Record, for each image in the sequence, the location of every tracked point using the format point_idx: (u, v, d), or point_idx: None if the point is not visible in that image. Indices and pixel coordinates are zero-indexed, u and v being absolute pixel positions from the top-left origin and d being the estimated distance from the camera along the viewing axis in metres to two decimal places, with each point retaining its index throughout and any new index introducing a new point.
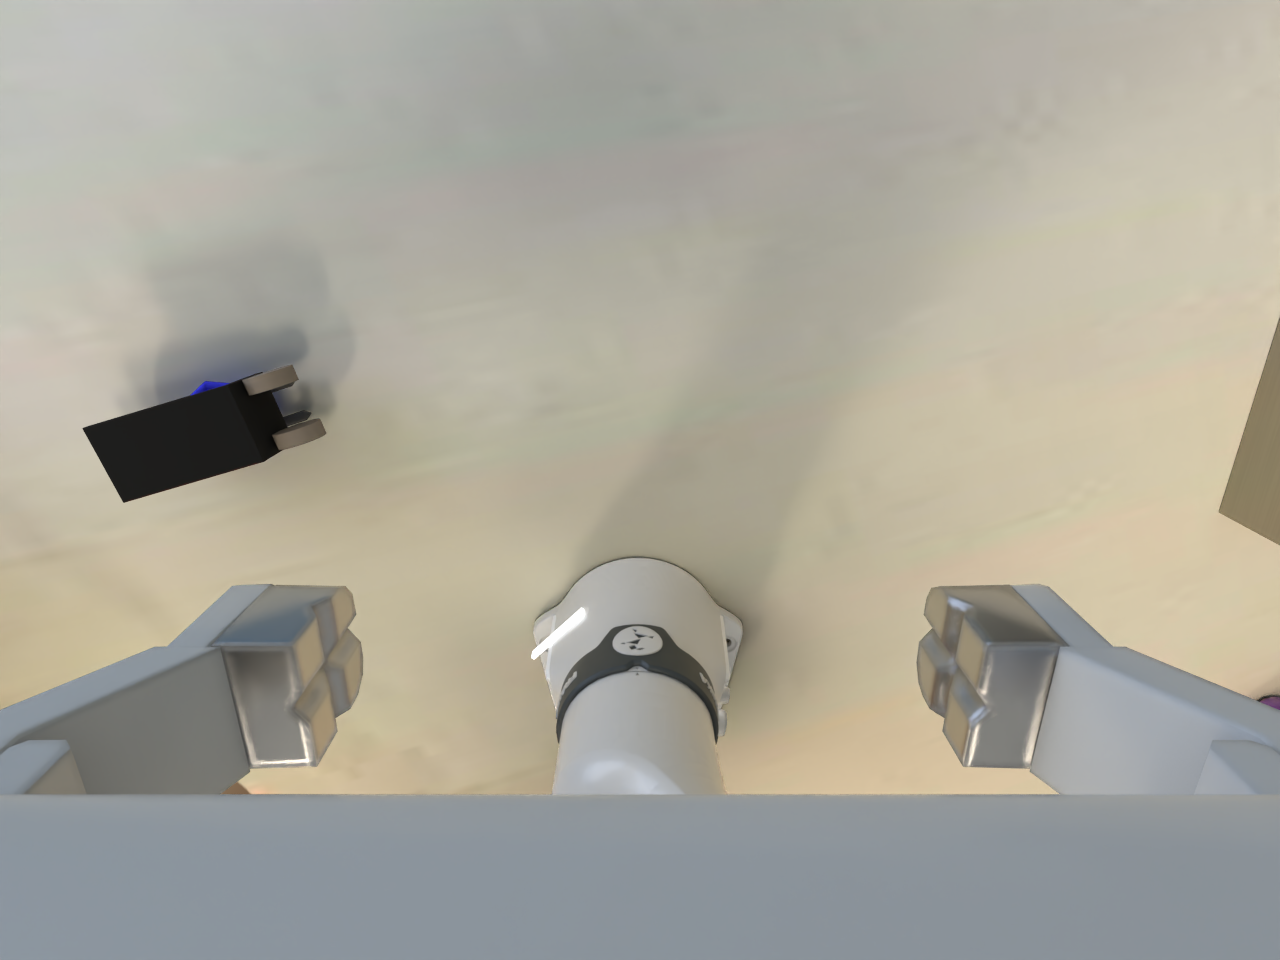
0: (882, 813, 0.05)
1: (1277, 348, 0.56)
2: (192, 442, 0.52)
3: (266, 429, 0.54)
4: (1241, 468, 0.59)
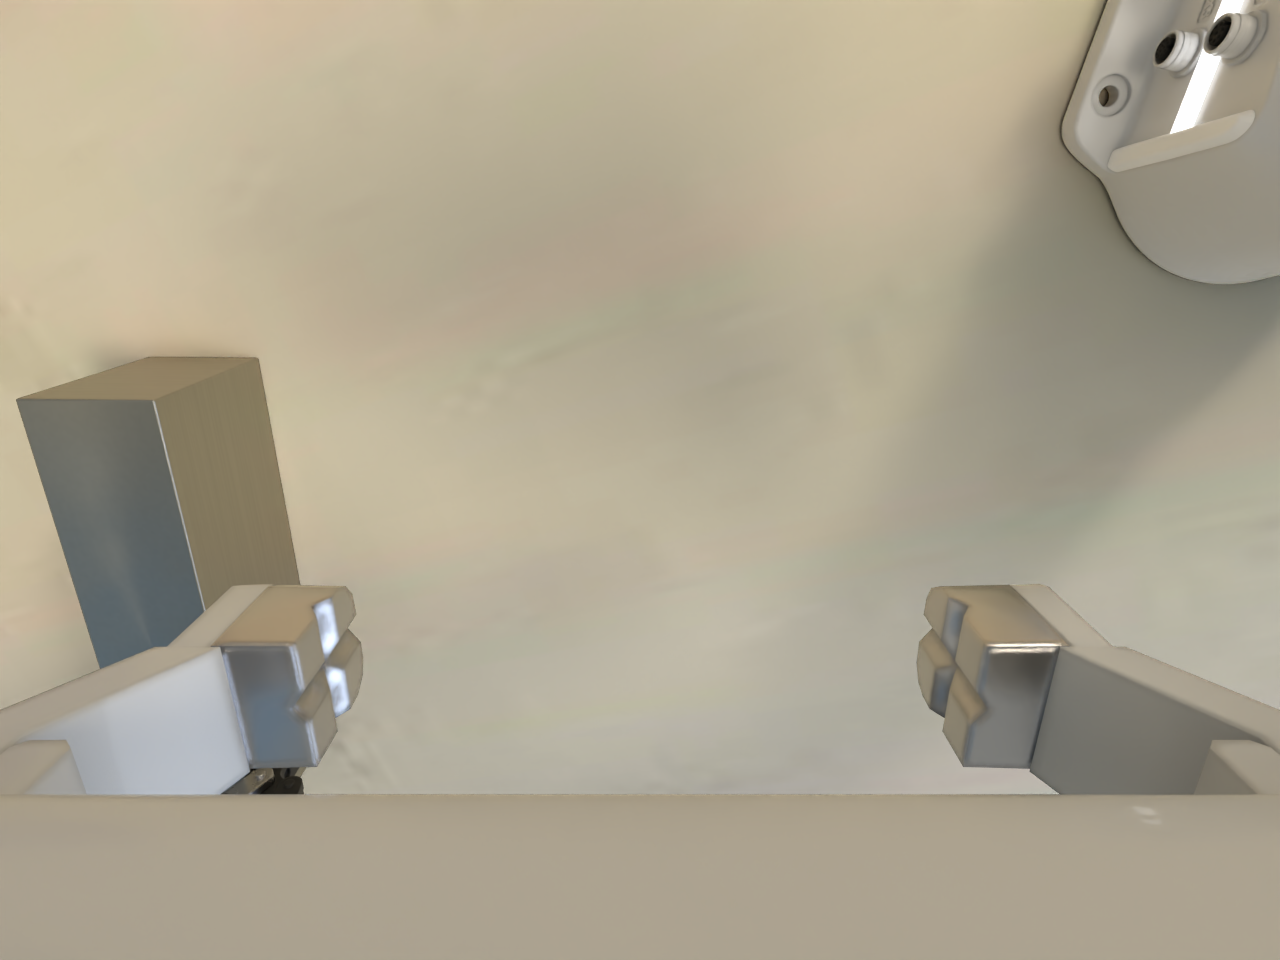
0: (882, 813, 0.05)
1: None
2: None
3: None
4: (264, 439, 0.39)
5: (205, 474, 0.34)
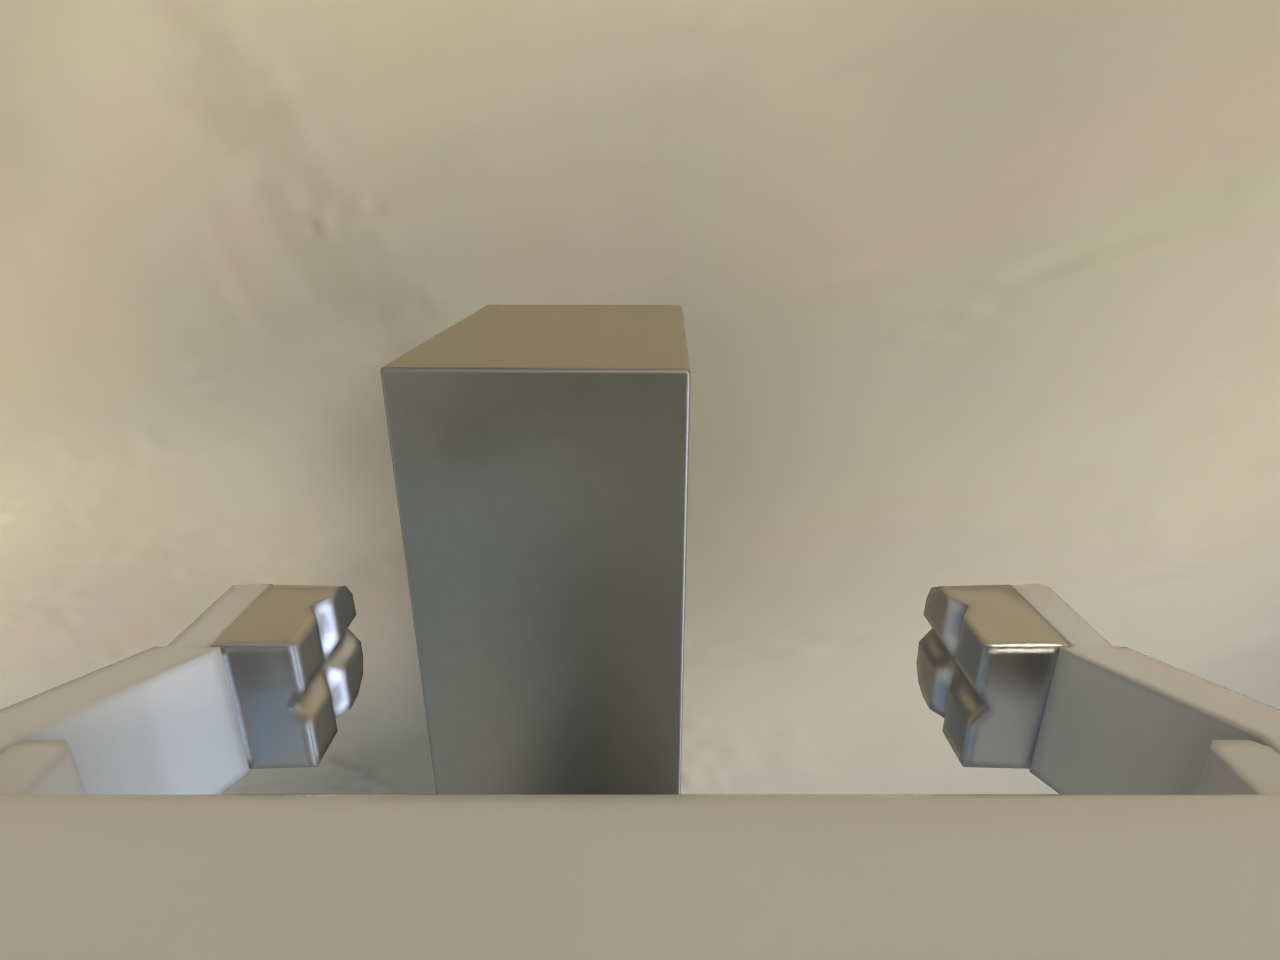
0: (882, 813, 0.05)
1: None
2: None
3: None
4: None
5: None
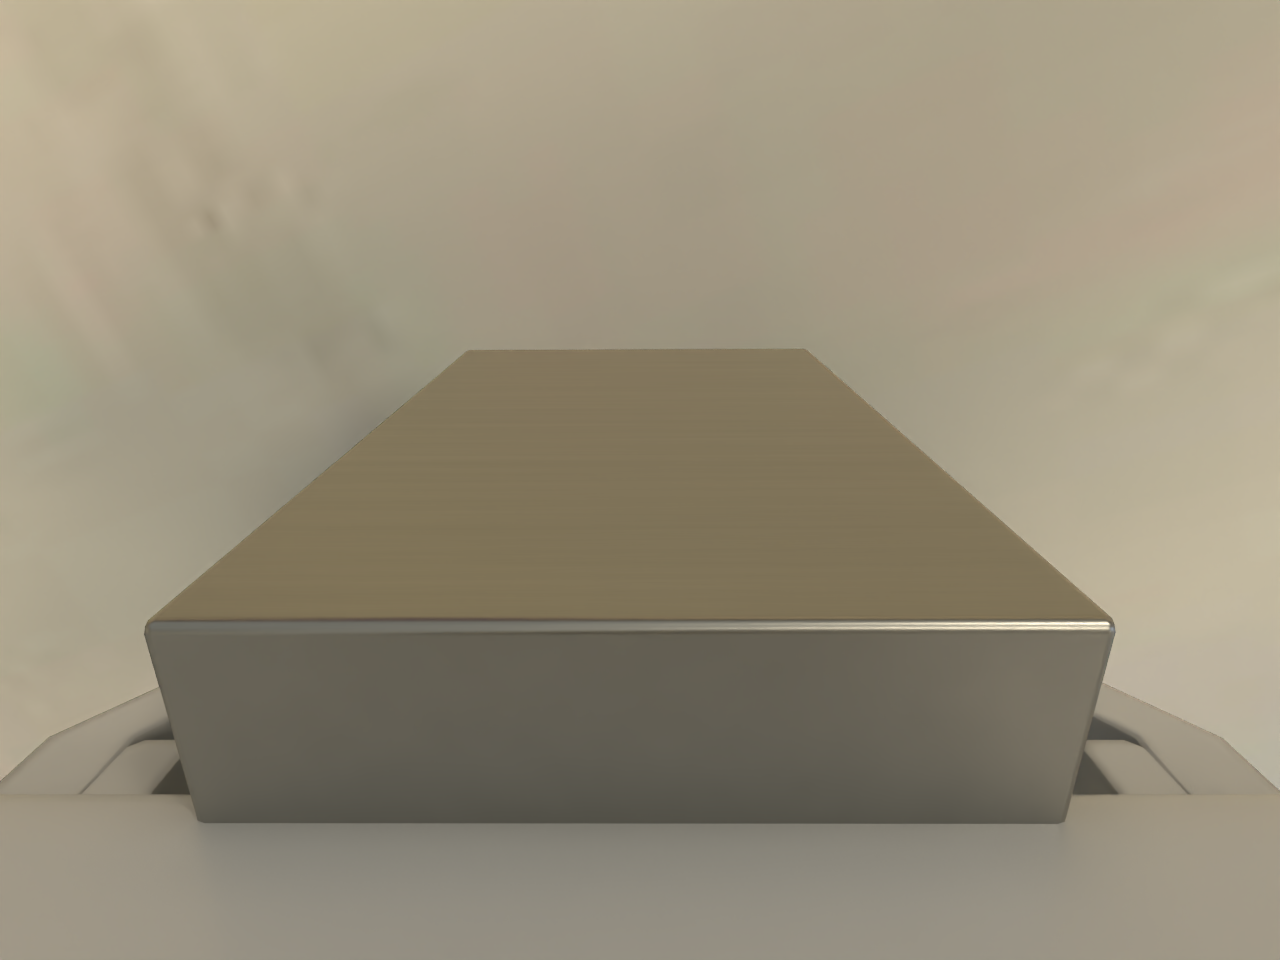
0: None
1: None
2: None
3: None
4: None
5: None
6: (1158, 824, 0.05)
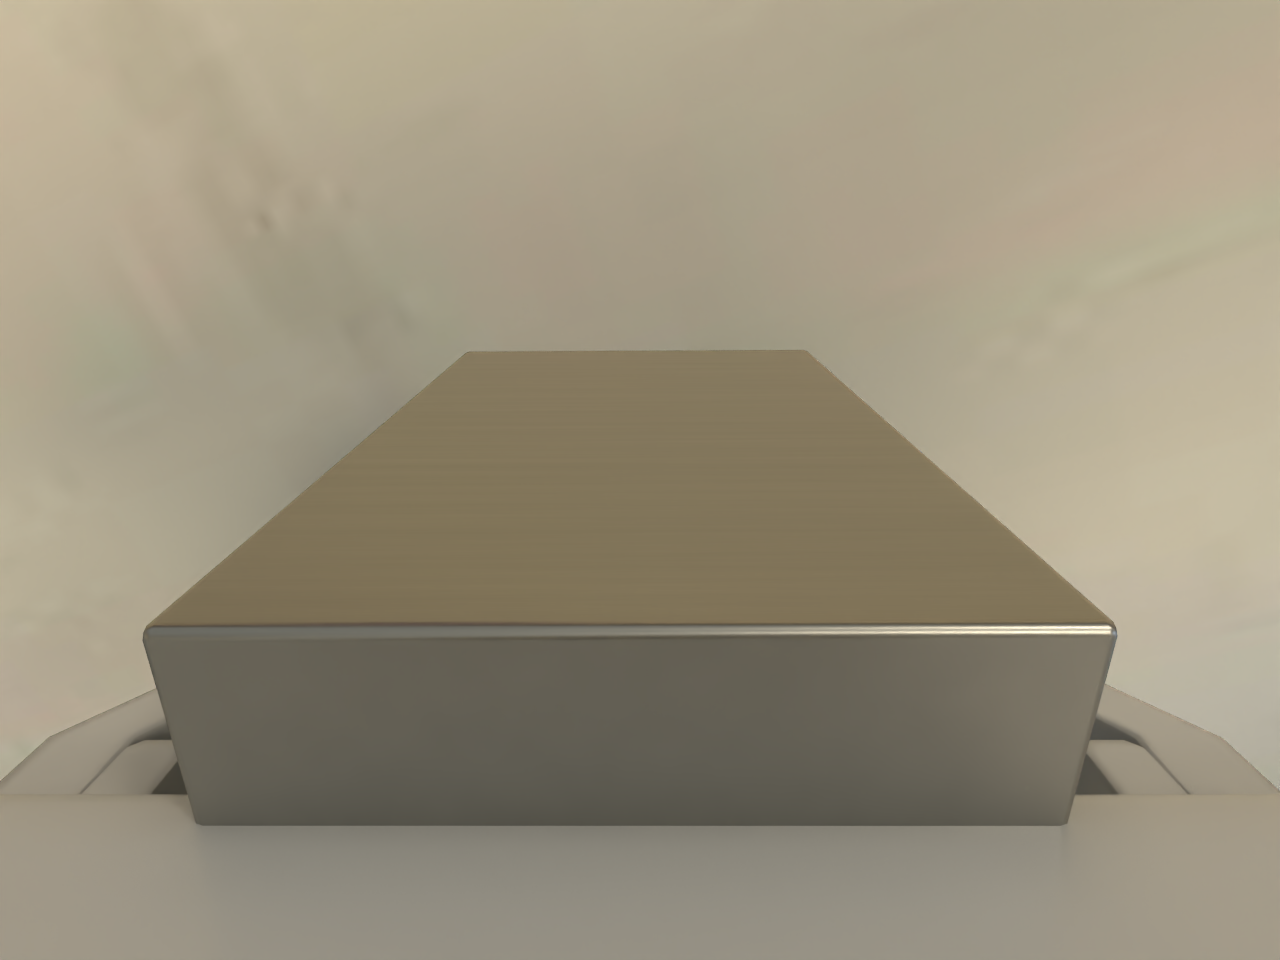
0: None
1: None
2: None
3: None
4: None
5: None
6: (1158, 824, 0.05)
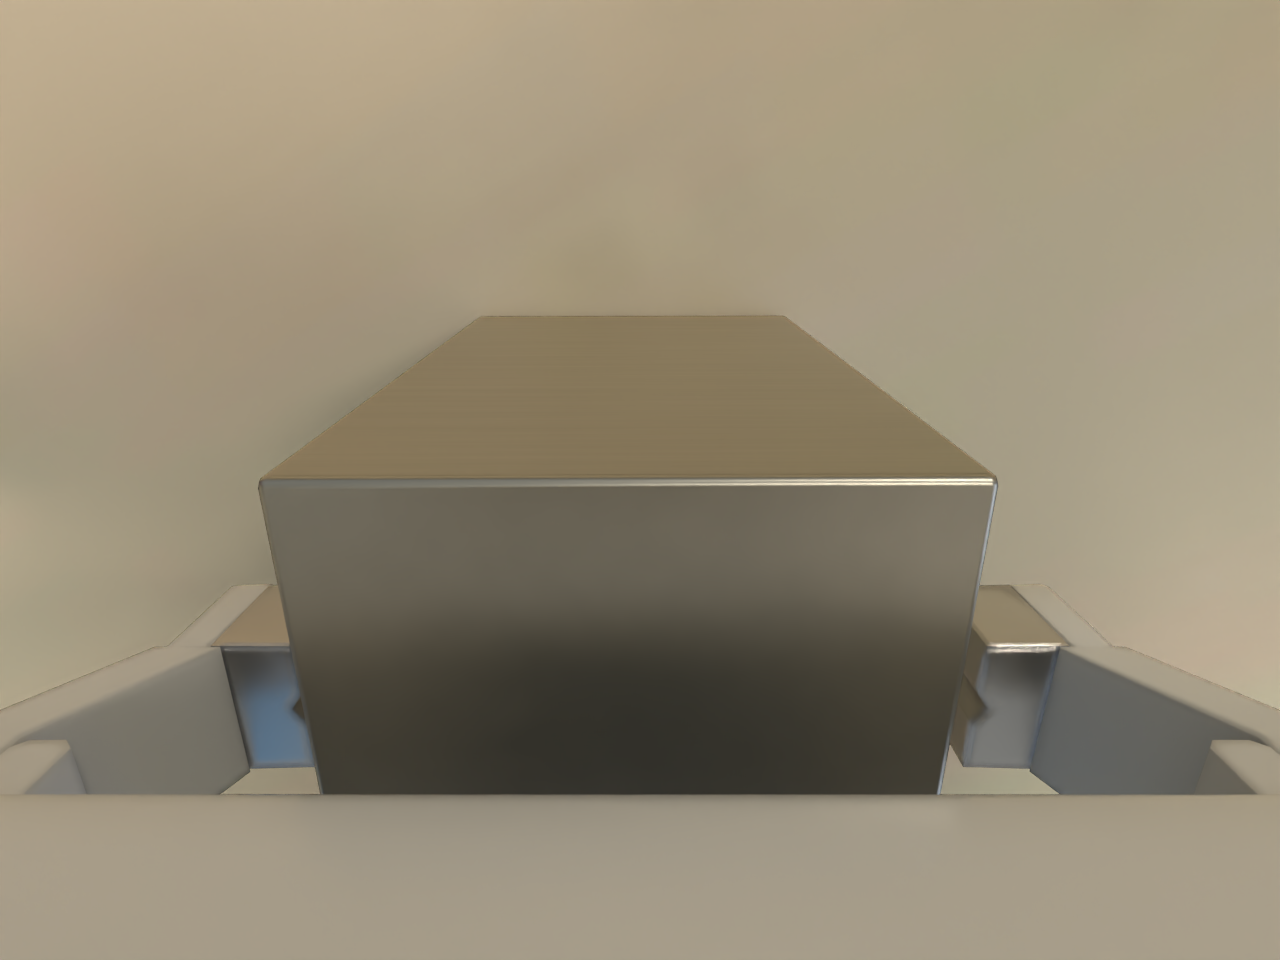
0: (882, 813, 0.05)
1: None
2: None
3: None
4: None
5: None
6: (1158, 824, 0.05)
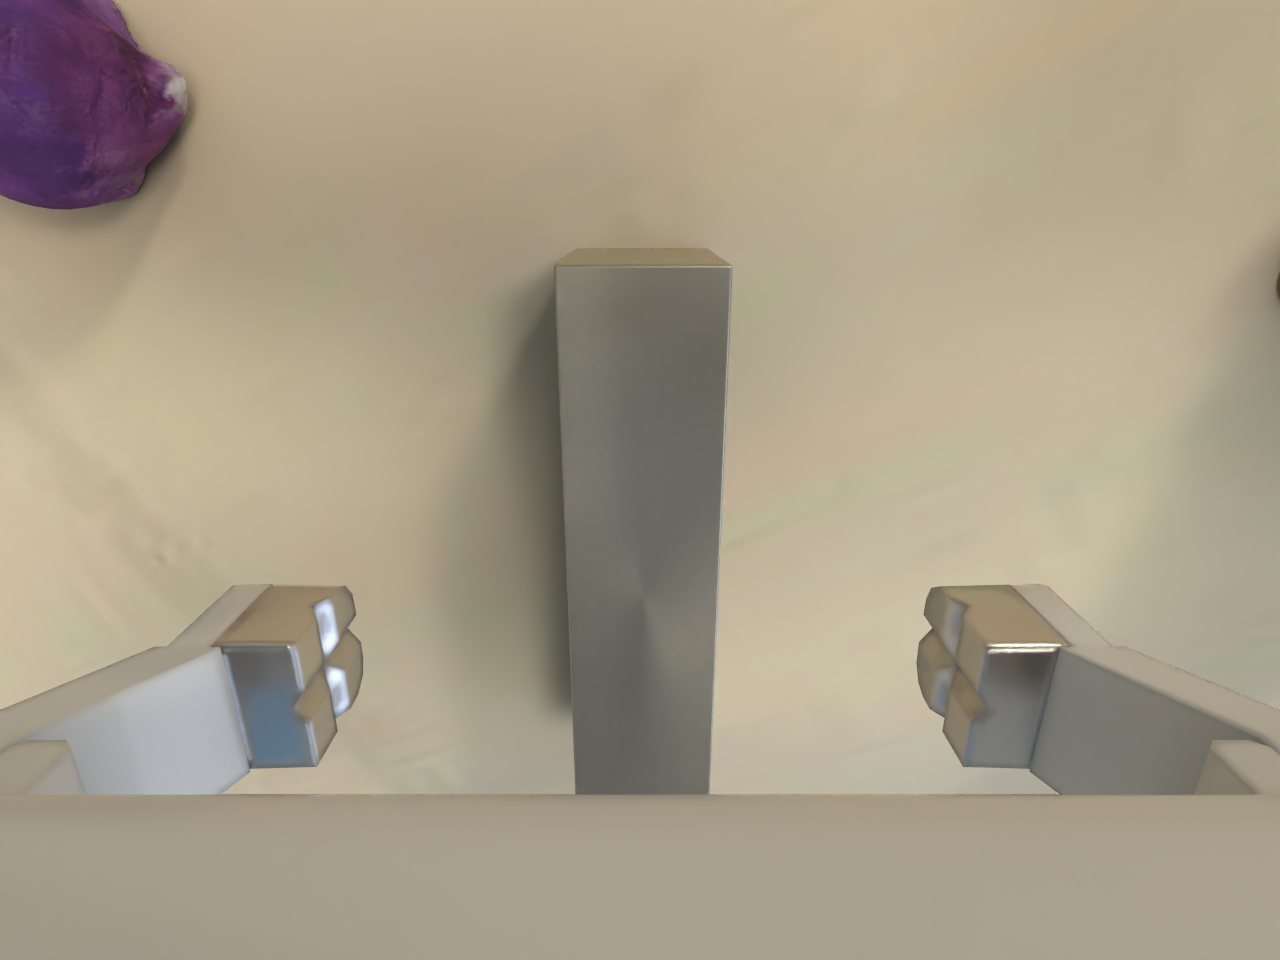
0: (882, 813, 0.05)
1: None
2: None
3: None
4: None
5: None
6: (1158, 824, 0.05)
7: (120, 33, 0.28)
